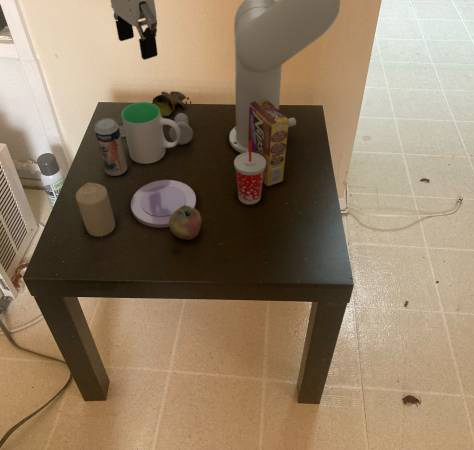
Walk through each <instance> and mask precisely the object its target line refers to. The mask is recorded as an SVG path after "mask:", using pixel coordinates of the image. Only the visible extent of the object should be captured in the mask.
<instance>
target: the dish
mask: <svg viewBox="0 0 474 450" xmlns="http://www.w3.org/2000/svg"><path fill="white" fill-rule="evenodd" d="M181 206H190V207H192V208H194V209H196V208H197V196H196V193H195V191H194V190H193V188H191V187H190V185H188V184H186V183H184V182H181V181H177V180H174V179H160V180H155V181H151V182H149V183H147V184H144V185H143V186H141V187H140V188H139V189H137V191H135V193H134V194H133V196H132V197H131V200H130V209H131V213H132V215H133V217H134V218H135V220H137V222H139V223H141V224H142V225H144V226H147V227H151V228H159V229H160V228H162V229H163V228H164V229H165V228H170V227H169V219H170V216H171V215H172V214H173V213H174V212H175V211H176V210H178V209H179V208H180V207H181Z"/></svg>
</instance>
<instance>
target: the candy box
mask: <svg viewBox="0 0 474 450" xmlns="http://www.w3.org/2000/svg"><path fill="white" fill-rule="evenodd" d="M289 119H290V118H288V117H287V116H286V115H285V114H284V113H282V112H281V111H280V109H279V110H278V109H277V108H276V107H275V106H274V105H273V104H272V103H271V102H269V101H268V100H267V99H261V100H257V101H255V102H252V103H249V135H248V152H249V140H252V148H251V152H253V153H258V154H260V155H262V156H263V157H264V158H265V160H266V167H265V169H264V174H263V184H264V185H265V186H266V187H270V186H273V185H276V184H279V183H281V182H283V181H284V175H285V174H284V173H285V163H286V153H287V144H288V135H289V134H288V133H289V128H288V124H289Z"/></svg>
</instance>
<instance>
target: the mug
mask: <svg viewBox="0 0 474 450" xmlns="http://www.w3.org/2000/svg"><path fill="white" fill-rule="evenodd" d="M120 115H121V120H122V125H124V130H125V135H126V136H125V139H126V144H127V148H128V149H127V150H128V154H129V157H130V159H131V160H132V161H133V162H135V163H138V164H145V165H146V164H147V165H148V164H153V163H156V162H158V161H160V160H161V159H163V158H164V157H165V154H166V153H167V151H166V149H171V148H175V147H177V145H179V144H178V142H179V140H180V135H181V134H180V129H179V126H178V125H177V124H176V122H175V121H174V120H172V119H169V118H166V117H165V118H164V117H163V116H162V115H161V114H160V109H159V107H158V106H157V105H155V104H153V103H152V102H149V101H139V102H134V103H131V104H129V105H127V106H125V107H124V108H123V109H122V111H121V113H120ZM163 126H170V127H173V128H174V129H175V131H176V133H177V140H176V141H175V142H173V141H172V142H171V141H168V140H167V139H166V138H165V135H164V129H163V128H164V127H163Z"/></svg>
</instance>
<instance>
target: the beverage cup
mask: <svg viewBox="0 0 474 450" xmlns="http://www.w3.org/2000/svg"><path fill="white" fill-rule="evenodd" d="M251 148H252V140H249V152H246V153H240V154H238V155H237V156H236V157H235V159H234V160H233V165H234V170H235V175H236V186H237V197H238V200H239V201H240V202H241V203H242V204H245V205H254V204H257V203H259V202H260V200H261V199H262V190H263V184H264V182H263V174H264V169H265V167H266V160H265V158H264V157H263V156H262V155H260V154H258V153H253V152H251Z"/></svg>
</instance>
